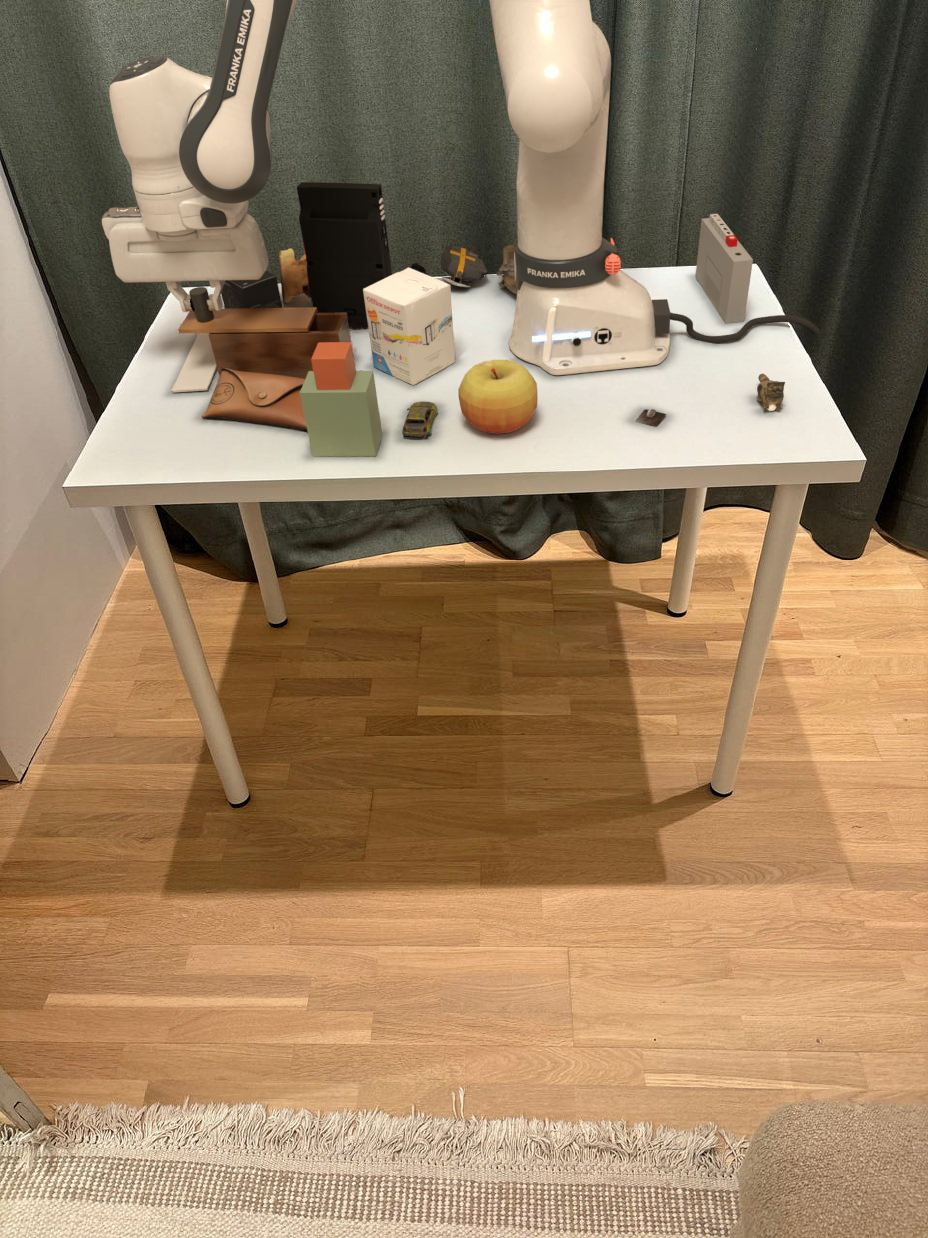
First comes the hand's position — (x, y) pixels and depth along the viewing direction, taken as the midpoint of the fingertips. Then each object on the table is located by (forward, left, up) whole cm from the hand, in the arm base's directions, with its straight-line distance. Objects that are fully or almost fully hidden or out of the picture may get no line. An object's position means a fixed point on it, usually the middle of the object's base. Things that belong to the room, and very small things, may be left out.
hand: (203, 309), depth 130 cm
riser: (-22, +19, -9) cm, 31 cm away
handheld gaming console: (-18, -13, -9) cm, 24 cm away
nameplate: (+3, -5, -9) cm, 11 cm away
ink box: (-28, -1, -9) cm, 30 cm away
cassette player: (-71, -20, -9) cm, 75 cm away
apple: (-41, +14, -9) cm, 44 cm away
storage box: (-10, 0, -9) cm, 14 cm away
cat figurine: (-75, +9, -9) cm, 76 cm away
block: (-22, +19, 0) cm, 30 cm away
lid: (-6, 0, -2) cm, 6 cm away
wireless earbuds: (-22, -26, -7) cm, 35 cm away
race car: (-31, +14, -9) cm, 35 cm away
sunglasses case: (-11, +11, -9) cm, 18 cm away
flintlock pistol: (-48, -27, -8) cm, 56 cm away
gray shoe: (-33, -30, -5) cm, 45 cm away
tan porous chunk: (-4, -22, -5) cm, 23 cm away
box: (-4, -8, -9) cm, 13 cm away
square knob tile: (-60, +13, -9) cm, 62 cm away
